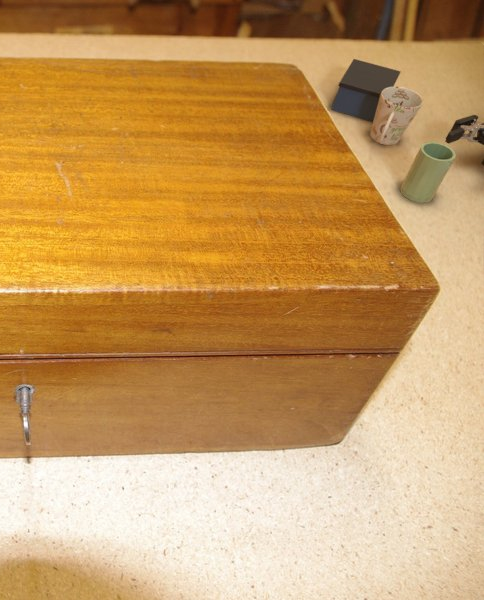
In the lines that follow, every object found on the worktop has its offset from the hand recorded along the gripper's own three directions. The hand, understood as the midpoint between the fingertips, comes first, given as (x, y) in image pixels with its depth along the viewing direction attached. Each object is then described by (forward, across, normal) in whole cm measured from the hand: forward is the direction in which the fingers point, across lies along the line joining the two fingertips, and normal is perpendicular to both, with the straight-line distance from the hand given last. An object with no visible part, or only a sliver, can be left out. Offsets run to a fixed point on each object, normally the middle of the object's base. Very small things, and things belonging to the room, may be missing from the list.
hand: (466, 149), depth 139 cm
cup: (+10, 0, +7) cm, 12 cm away
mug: (+3, -16, +7) cm, 18 cm away
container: (-5, -29, +7) cm, 30 cm away
